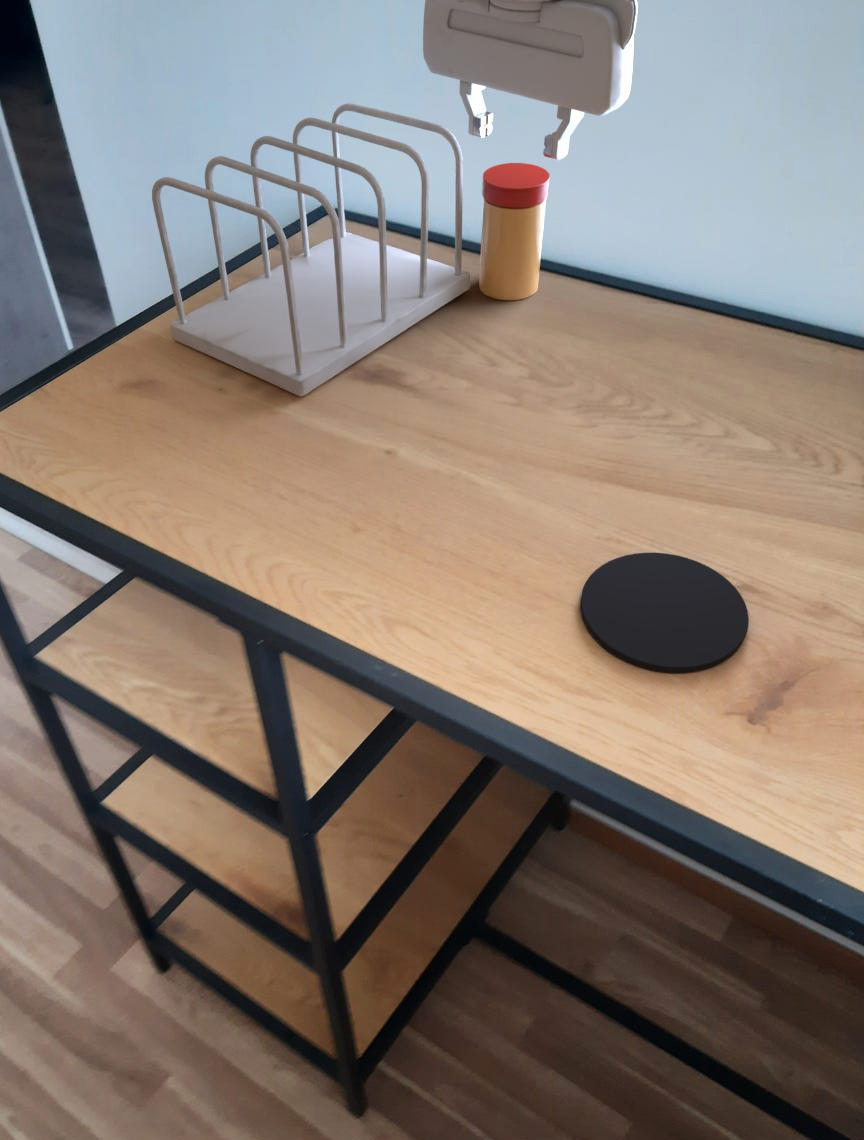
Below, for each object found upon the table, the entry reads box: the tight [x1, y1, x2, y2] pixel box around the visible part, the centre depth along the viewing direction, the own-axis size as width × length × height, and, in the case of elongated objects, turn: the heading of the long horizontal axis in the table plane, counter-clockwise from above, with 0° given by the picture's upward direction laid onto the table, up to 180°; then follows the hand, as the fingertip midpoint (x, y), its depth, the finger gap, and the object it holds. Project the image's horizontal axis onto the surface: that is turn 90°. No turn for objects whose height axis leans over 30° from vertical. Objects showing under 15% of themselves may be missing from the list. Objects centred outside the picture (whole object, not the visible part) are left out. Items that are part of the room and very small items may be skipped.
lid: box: [481, 162, 550, 207], centre depth 89 cm, size 6×6×2 cm
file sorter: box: [151, 102, 471, 397], centre depth 87 cm, size 25×17×16 cm
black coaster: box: [579, 552, 750, 674], centre depth 63 cm, size 11×11×1 cm
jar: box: [478, 197, 547, 301], centre depth 92 cm, size 6×6×10 cm
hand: (516, 145), depth 86 cm, fingers open, 7 cm apart
